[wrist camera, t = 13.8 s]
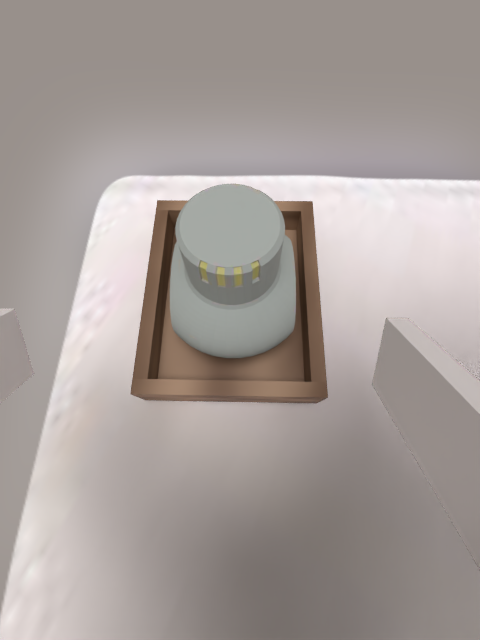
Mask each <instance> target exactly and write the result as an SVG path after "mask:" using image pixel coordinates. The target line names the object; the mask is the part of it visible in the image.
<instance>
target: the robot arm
mask: <svg viewBox="0 0 480 640" xmlns="http://www.w3.org/2000/svg"><path fill="white" fill-rule="evenodd" d="M33 374H34V372H33V368H32V365H31V362H30V358H29V355H28V352H27V349H26V346H25V342H24V339H23V335H22V332H21V329H20V325H19V322H18V319H17V315H16V312H15V309H0V403H2V401H4V400H5V399H6V398H7V397H8V396H10V395H11V394H12V393H13V392H14V391H15V390H16V389H17V388H19V387H20V386H21V385H22V384H23V383H24V382H25V381H27V380H28V379H29V378H30V377H31V376H32V375H33ZM372 385H373V387H374V389H375V391H376V392H377V394H378V396H379V397H380V399H381V401H382V403H383V404H384V406H385V408H386V409H387V411H388V413H389V415H390V416H391V418H392V420H393V422H394V423H395V425H396V427H397V428H398V430H399V432H400V434H401V435H402V437H403V439H404V440H405V442H406V444H407V446H408V447H409V449H410V451H411V452H412V454H413V456H414V458H415V459H416V461H417V463H418V465H419V466H420V468H421V470H422V471H423V473H424V475H425V477H426V478H427V480H428V482H429V483H430V485H431V487H432V489H433V490H434V492H435V494H436V496H437V497H438V499H439V501H440V502H441V504H442V506H443V508H444V509H445V511H446V513H447V514H448V516H449V518H450V520H451V521H452V523H453V525H454V527H455V528H456V530H457V532H458V533H459V535H460V537H461V539H462V540H463V542H464V544H465V545H466V547H467V549H468V551H469V552H470V554H471V556H472V558H473V559H474V561H475V563H476V564H477V566H478V568H479V570H480V381H479V380H478V379H477V378H476V377H475V376H474V375H473V374H471V373H470V372H469V371H468V370H467V369H466V368H465V367H464V366H462V365H461V364H460V363H459V362H458V361H457V360H456V359H454V358H453V357H452V356H451V355H450V354H449V353H448V352H447V351H445V350H444V349H443V348H442V347H441V346H440V345H439V344H437V343H436V342H435V341H434V340H433V339H432V338H431V337H430V336H428V335H427V334H426V333H425V332H424V331H423V330H422V329H420V328H419V327H418V326H417V325H416V324H415V323H414V322H413V321H411V320H410V319H409V318H386V321H385V326H384V330H383V335H382V340H381V345H380V349H379V354H378V359H377V363H376V368H375V373H374V378H373V382H372Z"/></svg>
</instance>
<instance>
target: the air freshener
mask: <svg viewBox="0 0 480 640" xmlns="http://www.w3.org/2000/svg"><path fill="white" fill-rule="evenodd" d="M175 231H176V239H177V242H176V244H175V247H174V252H173V258H172V265H171V277H170V315H171V323H172V328H173V330H174V332H175V333H176V334H177V335H178V336H179V337H180V338H181V339H182V340H183V341H185V342H186V343H187V344H189V345H190V346H191V347H193V348H195V349H197V350H199V351H201V352H203V353H206V354H209V355H212V356H216V357H222V358H244V357H251V356H255V355H258V354H261V353H264V352H266V351H268V350H270V349H272V348H274V347H276V346H277V345H278V344H280V343H281V342H282V341H284V340H285V339H286V338H287V337H288V336H289V335H290V334H291V333H292V332H293V330H294V326H295V315H296V277H295V262H294V252H293V246H292V242H291V240H290V239H289V238H288V237H287V236H286V235H285V223H284V218H283V215H282V213H281V211H280V209H279V207H278V206H277V204H276V203H275V202H274V201H273V200H272V199H271V198H270V197H269V196H267V195H266V194H264V193H263V192H261V191H259V190H256V189H254V188H252V187H249V186H245V185H240V184H222V185H217V186H213V187H210V188H208V189H206V190H203V191H201V192H199V193H198V194H196V195H195V196H193V197H192V198H191V199H190V200H189V201H188V202H187V203H186V204H185V205H184V206H183V208H182V210H181V211H180V213H179V216H178V218H177V222H176V227H175Z"/></svg>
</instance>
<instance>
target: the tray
mask: <svg viewBox="0 0 480 640" xmlns="http://www.w3.org/2000/svg"><path fill="white" fill-rule="evenodd" d="M187 202H188V201H160V200H157V207H156V214H155V221H154V229H153V236H152V243H151V250H150V257H149V264H148V272H147V279H146V286H145V293H144V300H143V308H142V315H141V322H140V329H139V336H138V343H137V351H136V358H135V365H134V372H133V379H132V386H131V394H132V395H134V396H137V397H139V398H142V399H144V400H168V401H224V402H280V403H318V402H320V401H322V400H324V399H326V398H328V394H327V381H326V369H325V356H324V343H323V330H322V318H321V305H320V292H319V279H318V267H317V254H316V241H315V228H314V216H313V203H312V201H274V202H275V203H276V204H277V206H278V207H279V209H280V211H281V213H282V215H283V218H284V223H285V235H286V236H287V237H288V238H289V239H290V240H291V242H292V246H293V252H294V262H295V277H296V315H295V326H294V330H293V332H292V333H291V334H290V335H289V336H288V337H287V338H286V339H285V340H284V341H282V342H281V343H280V344H278V345H277V346H276V347H274V348H272V349H270V350H268V351H266V352H264V353H261V354H258V355H255V356H251V357H244V358H222V357H216V356H212V355H209V354H206V353H203V352H201V351H199V350H197V349H195V348H193V347H191V346H190V345H189V344H187V343H186V342H185V341H183V340H182V339H181V338H180V337H179V336H178V335H177V334H176V333H175V332H174V330H173V328H172V323H171V315H170V277H171V265H172V258H173V252H174V247H175V244H176V242H177V239H176V231H175V227H176V222H177V218H178V216H179V213H180V211H181V210H182V208H183V206H184V205H185V204H186V203H187Z"/></svg>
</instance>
